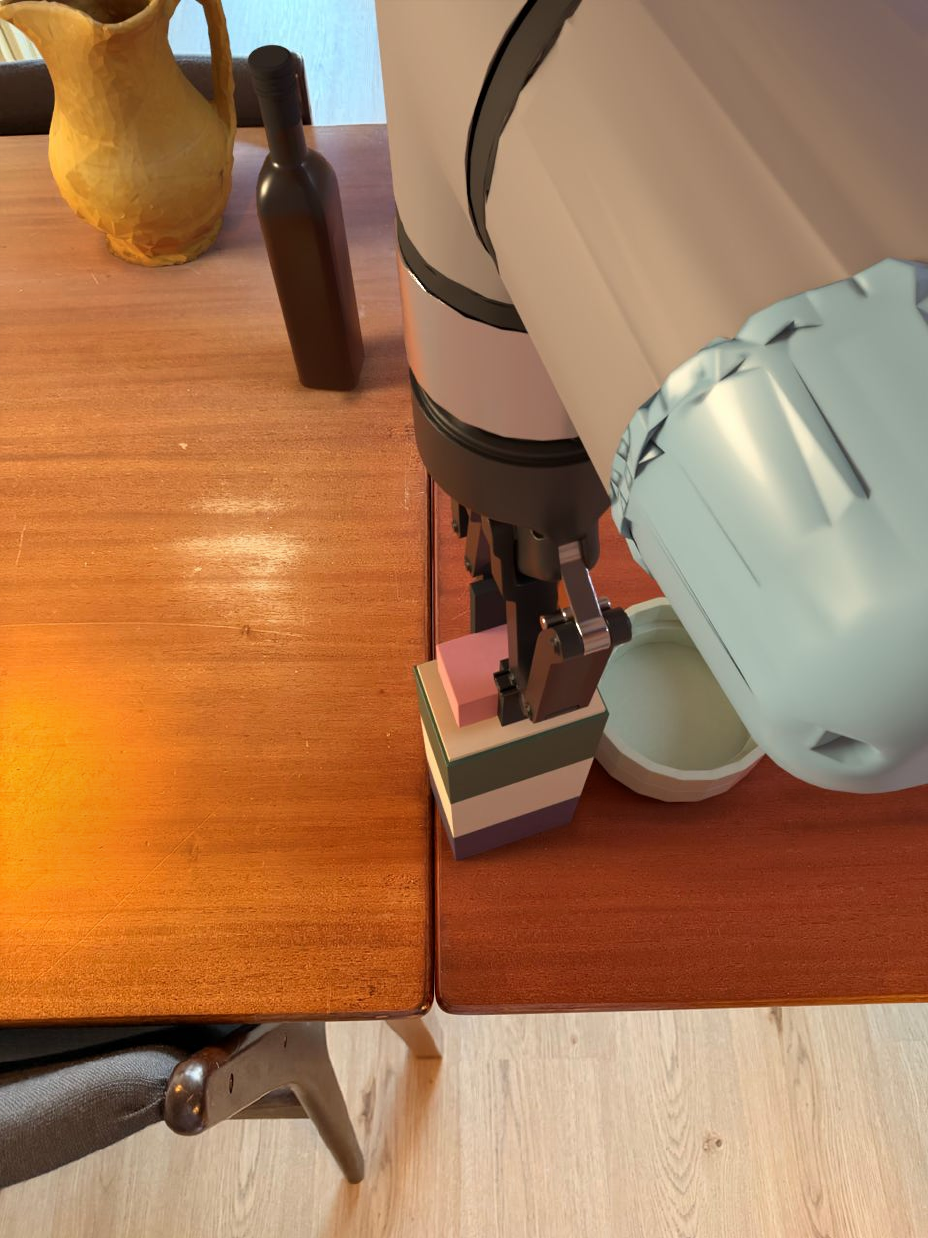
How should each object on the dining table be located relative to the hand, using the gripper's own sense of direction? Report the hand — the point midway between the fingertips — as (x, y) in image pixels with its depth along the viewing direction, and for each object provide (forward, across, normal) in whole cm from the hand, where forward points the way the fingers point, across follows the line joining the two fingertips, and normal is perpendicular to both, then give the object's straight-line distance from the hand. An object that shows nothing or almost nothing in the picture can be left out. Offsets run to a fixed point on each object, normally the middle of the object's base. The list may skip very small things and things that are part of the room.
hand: (510, 676), depth 47 cm
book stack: (+24, 0, 0) cm, 24 cm away
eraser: (0, 0, 0) cm, 0 cm away
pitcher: (+24, +70, +12) cm, 75 cm away
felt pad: (+2, 0, 0) cm, 2 cm away
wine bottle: (+24, +45, +1) cm, 51 cm away
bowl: (+24, +2, -15) cm, 28 cm away
